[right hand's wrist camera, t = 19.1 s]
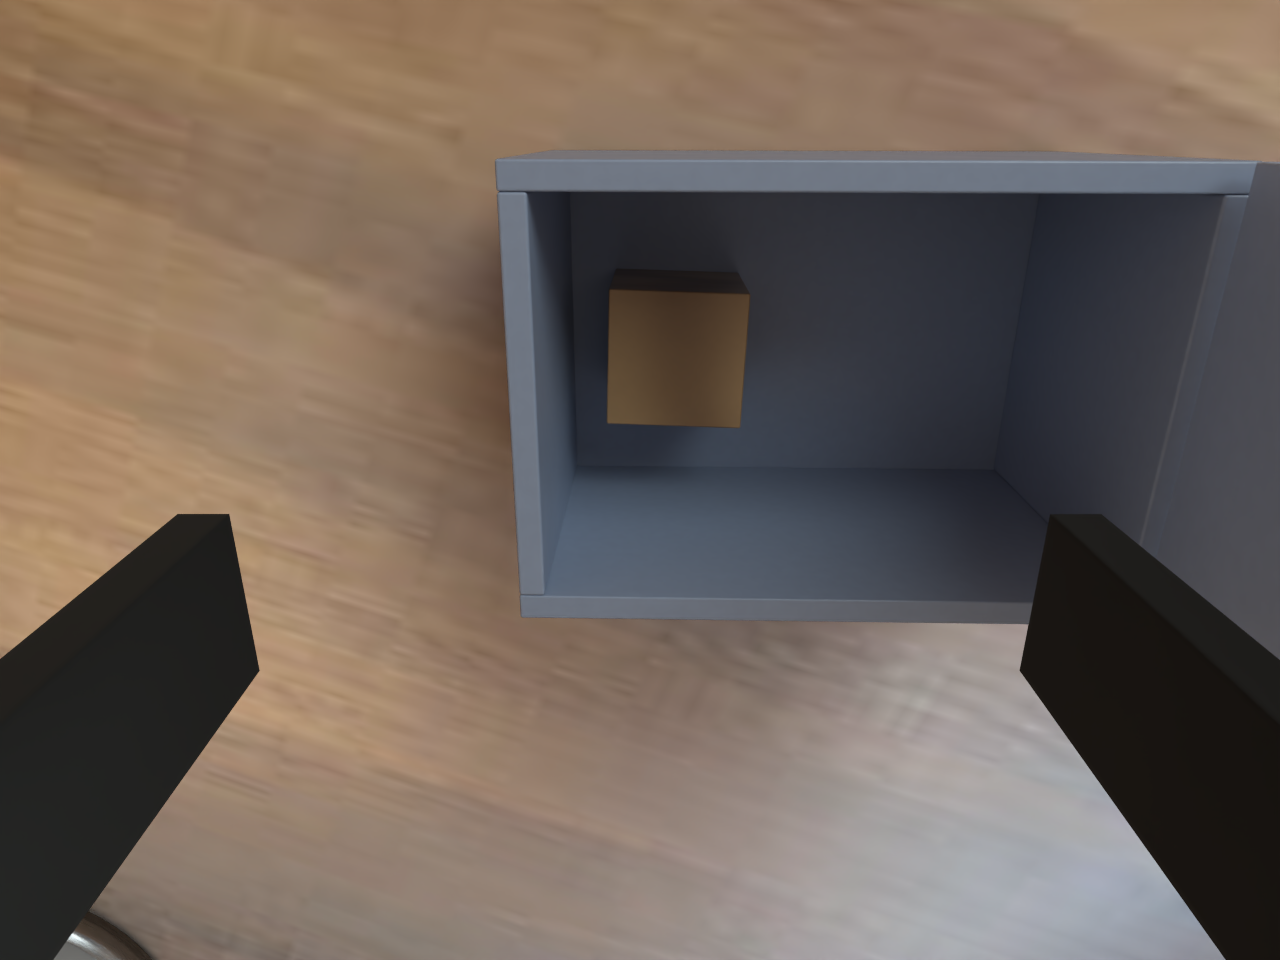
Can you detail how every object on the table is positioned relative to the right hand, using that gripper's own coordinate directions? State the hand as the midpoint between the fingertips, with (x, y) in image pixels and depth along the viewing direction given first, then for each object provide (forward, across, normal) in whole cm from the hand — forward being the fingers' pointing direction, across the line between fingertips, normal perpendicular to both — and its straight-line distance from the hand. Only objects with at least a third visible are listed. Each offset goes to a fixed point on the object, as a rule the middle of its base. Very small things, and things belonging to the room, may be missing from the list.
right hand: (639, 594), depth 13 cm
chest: (+20, +6, 0) cm, 20 cm away
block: (+19, +1, 0) cm, 19 cm away
